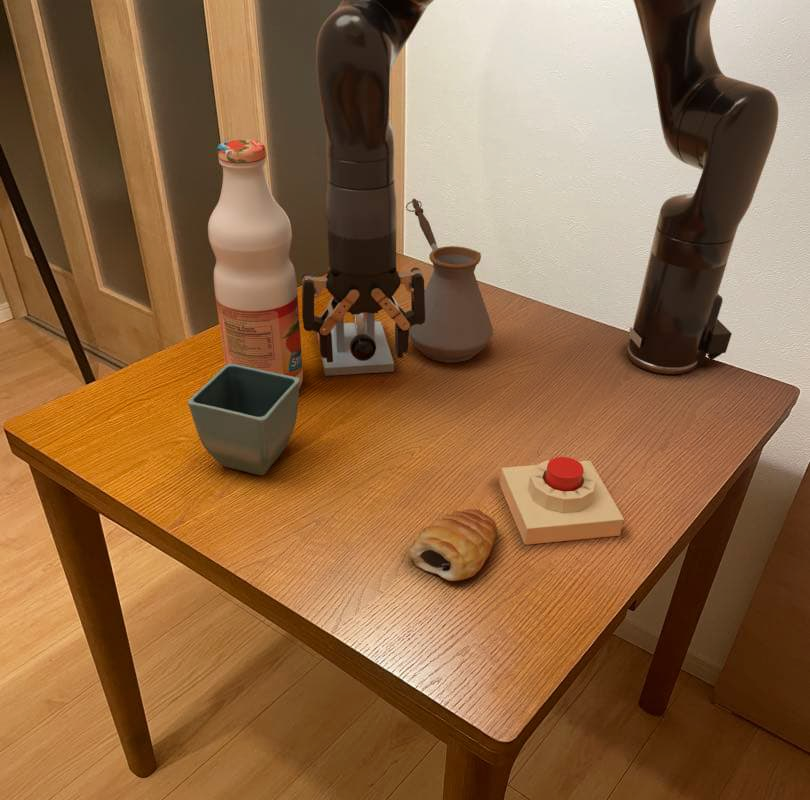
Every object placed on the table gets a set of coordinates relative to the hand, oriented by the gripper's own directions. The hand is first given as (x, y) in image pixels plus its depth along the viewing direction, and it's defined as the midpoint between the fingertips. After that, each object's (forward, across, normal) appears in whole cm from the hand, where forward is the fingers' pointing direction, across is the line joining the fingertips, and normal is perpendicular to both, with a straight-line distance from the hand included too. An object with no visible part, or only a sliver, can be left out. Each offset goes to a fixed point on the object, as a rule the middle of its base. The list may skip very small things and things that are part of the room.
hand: (364, 356), depth 97 cm
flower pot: (+5, -14, -13) cm, 20 cm away
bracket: (+5, 0, +10) cm, 11 cm away
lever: (-2, 0, +6) cm, 6 cm away
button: (+1, +17, -26) cm, 31 cm away
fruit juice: (+5, -12, +3) cm, 13 cm away
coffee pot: (+5, +12, +14) cm, 19 cm away
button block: (+5, +17, -26) cm, 31 cm away
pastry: (+5, +5, -31) cm, 32 cm away
